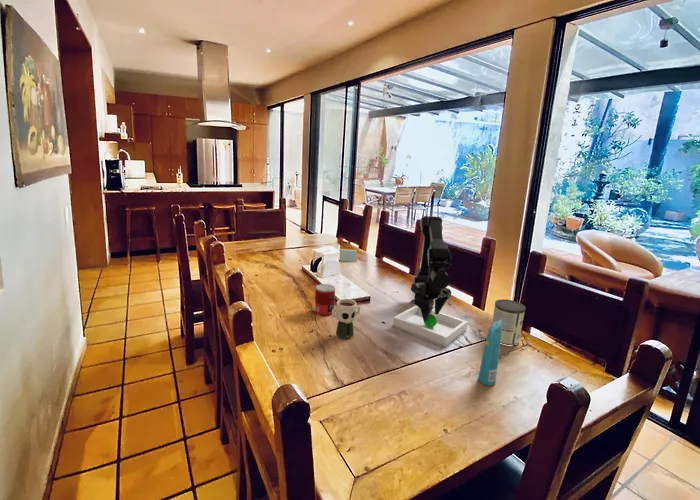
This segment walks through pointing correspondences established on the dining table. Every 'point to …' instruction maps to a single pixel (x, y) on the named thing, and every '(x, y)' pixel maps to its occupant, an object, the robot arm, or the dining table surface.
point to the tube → (491, 355)
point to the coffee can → (509, 320)
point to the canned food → (324, 299)
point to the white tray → (439, 334)
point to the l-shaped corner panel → (348, 255)
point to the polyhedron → (431, 321)
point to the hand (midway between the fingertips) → (430, 317)
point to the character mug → (345, 317)
